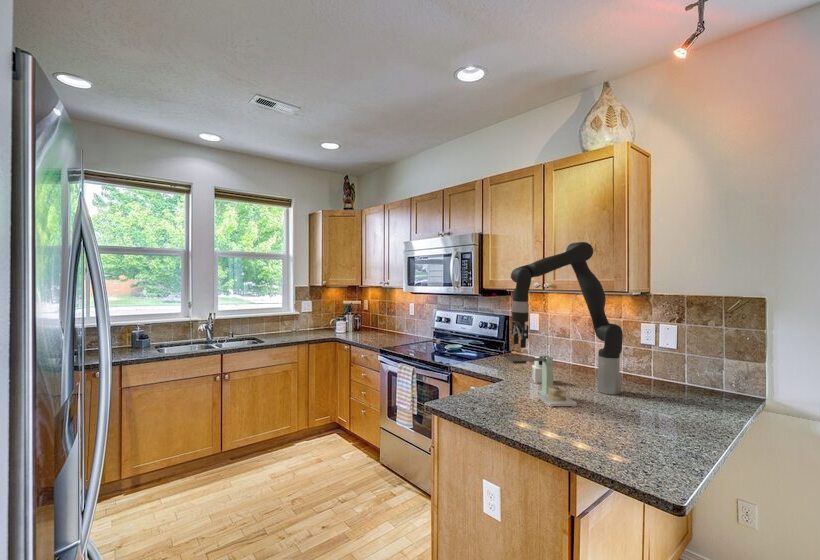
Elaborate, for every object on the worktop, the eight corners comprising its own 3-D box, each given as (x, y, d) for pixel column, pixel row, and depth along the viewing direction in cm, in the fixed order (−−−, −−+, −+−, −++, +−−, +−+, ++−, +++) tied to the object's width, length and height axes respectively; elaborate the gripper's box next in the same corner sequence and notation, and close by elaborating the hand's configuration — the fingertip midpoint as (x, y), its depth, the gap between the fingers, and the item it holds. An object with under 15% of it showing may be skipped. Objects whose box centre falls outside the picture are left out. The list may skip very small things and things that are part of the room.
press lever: (545, 359, 186) (545, 354, 186) (555, 364, 176) (555, 359, 176) (505, 359, 184) (505, 354, 184) (513, 365, 174) (513, 359, 174)
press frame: (556, 392, 185) (557, 355, 185) (576, 406, 167) (577, 364, 166) (532, 393, 184) (532, 355, 184) (550, 407, 166) (550, 364, 165)
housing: (560, 396, 175) (561, 385, 175) (566, 400, 170) (566, 388, 170) (548, 397, 174) (548, 385, 174) (552, 400, 169) (553, 389, 169)
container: (546, 379, 208) (546, 355, 208) (550, 383, 200) (550, 358, 200) (531, 379, 209) (532, 355, 209) (534, 383, 201) (535, 358, 201)
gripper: (534, 312, 172) (533, 348, 173) (521, 309, 187) (521, 343, 187) (518, 312, 172) (517, 349, 172) (506, 309, 186) (506, 343, 186)
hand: (519, 345), depth 179 cm, fingers open, 8 cm apart
